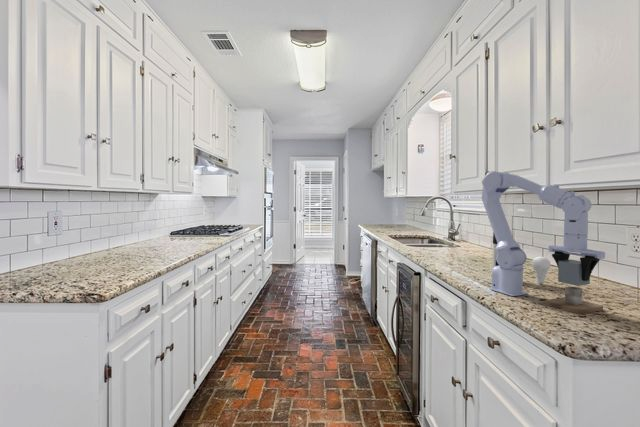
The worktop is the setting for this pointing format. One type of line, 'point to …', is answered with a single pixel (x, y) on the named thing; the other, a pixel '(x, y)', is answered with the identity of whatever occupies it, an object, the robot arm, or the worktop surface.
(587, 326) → the worktop surface
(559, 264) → the blue-grey block
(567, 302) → the brown base with post
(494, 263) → the spray can
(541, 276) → the lightbulb
